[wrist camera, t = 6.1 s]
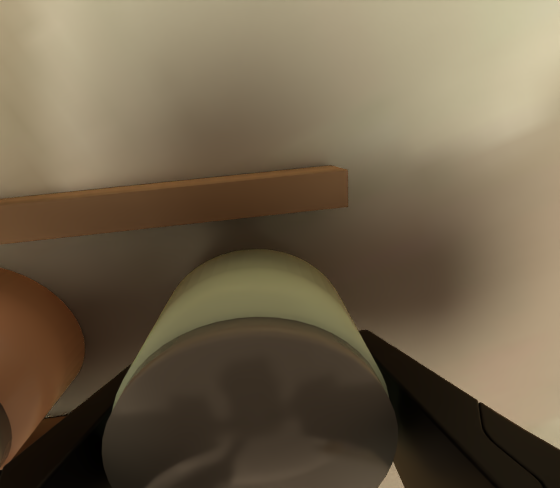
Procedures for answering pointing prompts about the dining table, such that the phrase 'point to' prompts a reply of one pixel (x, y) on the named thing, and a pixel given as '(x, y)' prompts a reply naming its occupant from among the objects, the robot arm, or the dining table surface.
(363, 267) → the dining table surface
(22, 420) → the terracotta jar
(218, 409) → the green jar
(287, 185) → the lane
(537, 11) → the dining table surface
